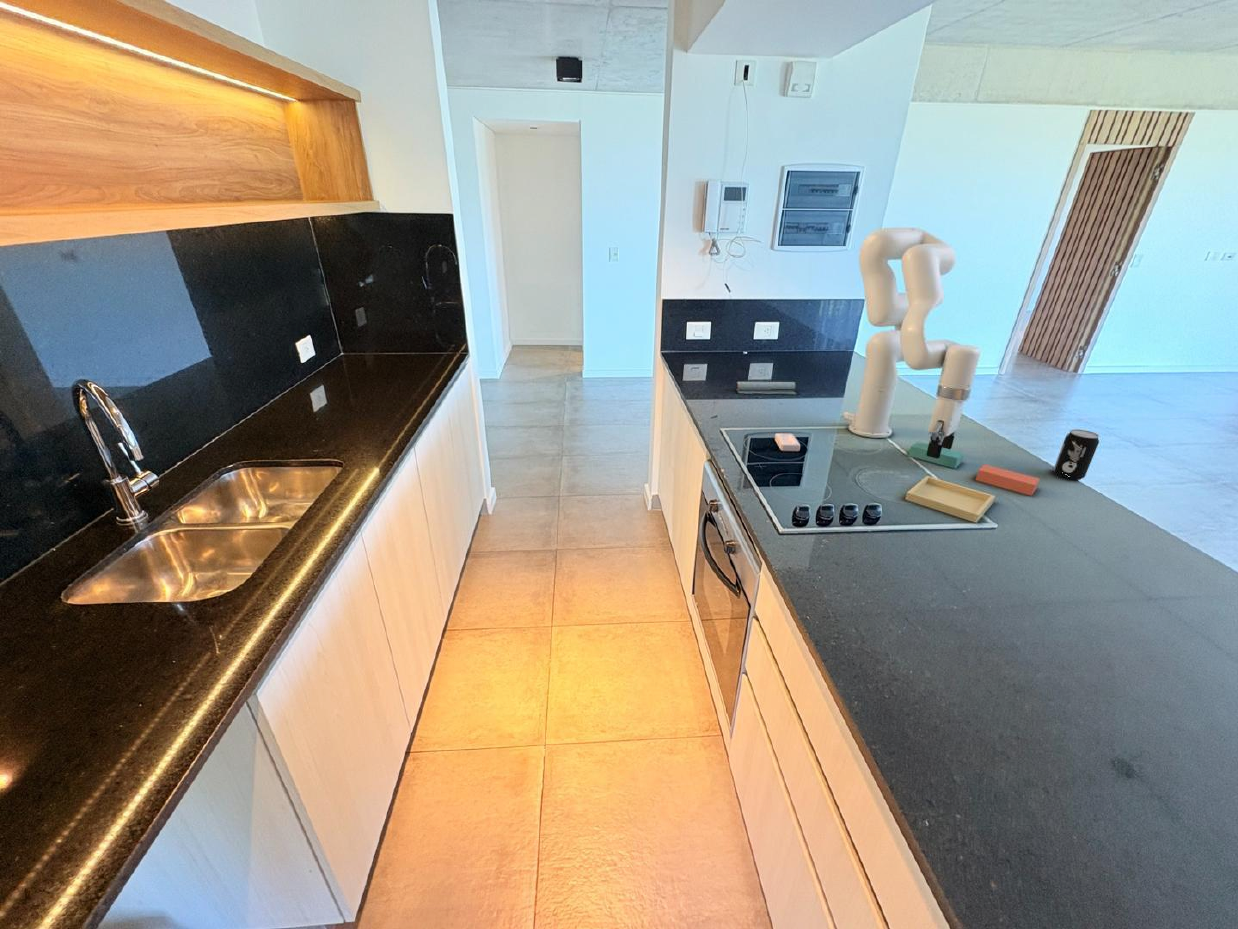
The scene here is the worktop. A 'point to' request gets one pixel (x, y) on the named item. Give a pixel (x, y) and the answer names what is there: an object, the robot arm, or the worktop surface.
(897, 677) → the worktop surface
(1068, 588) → the worktop surface
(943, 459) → the pad
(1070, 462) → the beverage can
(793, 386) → the aluminum foil
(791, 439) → the soap bar
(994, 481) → the red rectangular block
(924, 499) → the tray
